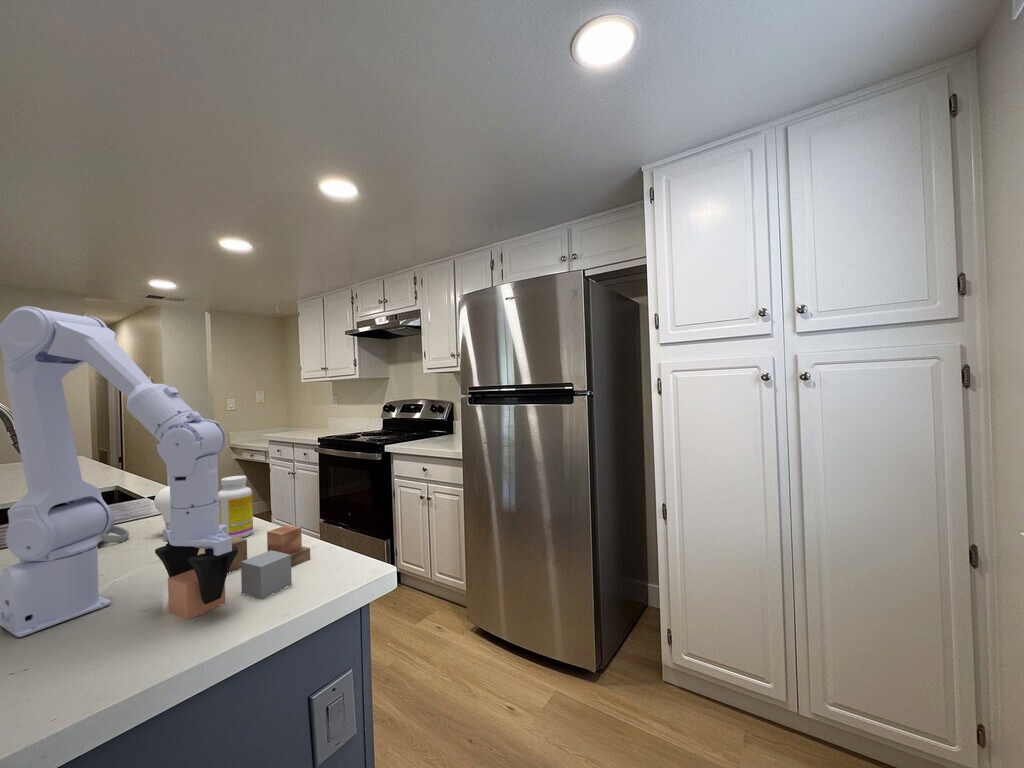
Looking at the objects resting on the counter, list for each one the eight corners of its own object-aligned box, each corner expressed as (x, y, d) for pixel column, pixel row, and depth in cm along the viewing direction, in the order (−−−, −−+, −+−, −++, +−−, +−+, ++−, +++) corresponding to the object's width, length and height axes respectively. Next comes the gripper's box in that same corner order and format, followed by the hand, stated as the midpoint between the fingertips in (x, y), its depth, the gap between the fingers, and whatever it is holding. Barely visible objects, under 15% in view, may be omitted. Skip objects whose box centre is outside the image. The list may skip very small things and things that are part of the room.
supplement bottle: (260, 530, 96) (258, 474, 96) (238, 541, 89) (237, 480, 90) (232, 530, 97) (231, 474, 97) (209, 541, 90) (208, 481, 90)
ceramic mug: (53, 557, 84) (53, 518, 84) (67, 544, 90) (67, 508, 90) (124, 545, 89) (125, 509, 89) (132, 534, 96) (132, 501, 96)
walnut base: (201, 586, 70) (200, 555, 70) (170, 579, 73) (170, 550, 73) (247, 566, 77) (246, 539, 77) (218, 560, 80) (217, 534, 80)
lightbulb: (160, 532, 97) (159, 484, 97) (194, 527, 100) (192, 481, 100) (150, 541, 91) (149, 490, 91) (186, 535, 94) (185, 486, 94)
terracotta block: (187, 620, 59) (186, 584, 59) (168, 612, 61) (167, 578, 61) (225, 603, 63) (224, 570, 63) (206, 597, 66) (205, 564, 66)
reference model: (280, 571, 74) (279, 537, 74) (259, 565, 77) (258, 532, 77) (310, 558, 79) (309, 526, 79) (289, 553, 82) (288, 522, 82)
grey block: (261, 599, 64) (260, 567, 64) (241, 593, 66) (240, 561, 66) (291, 585, 69) (290, 554, 69) (272, 579, 71) (271, 550, 71)
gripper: (252, 501, 63) (254, 592, 63) (197, 492, 69) (200, 575, 69) (199, 514, 56) (202, 616, 56) (145, 503, 63) (147, 595, 63)
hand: (197, 595), depth 62 cm, fingers open, 7 cm apart
